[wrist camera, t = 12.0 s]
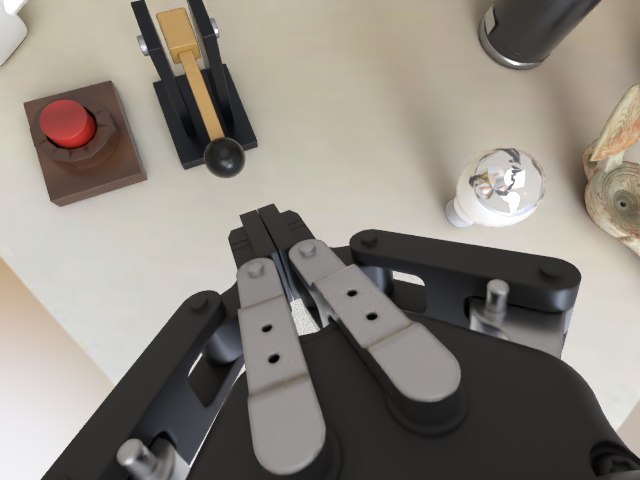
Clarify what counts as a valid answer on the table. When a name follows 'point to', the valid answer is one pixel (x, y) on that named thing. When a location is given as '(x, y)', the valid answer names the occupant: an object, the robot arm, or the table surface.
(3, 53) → the power adapter
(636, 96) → the oil lamp
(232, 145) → the lever
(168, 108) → the switch bracket
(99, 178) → the button block
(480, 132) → the table surface
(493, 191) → the light bulb
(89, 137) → the button
